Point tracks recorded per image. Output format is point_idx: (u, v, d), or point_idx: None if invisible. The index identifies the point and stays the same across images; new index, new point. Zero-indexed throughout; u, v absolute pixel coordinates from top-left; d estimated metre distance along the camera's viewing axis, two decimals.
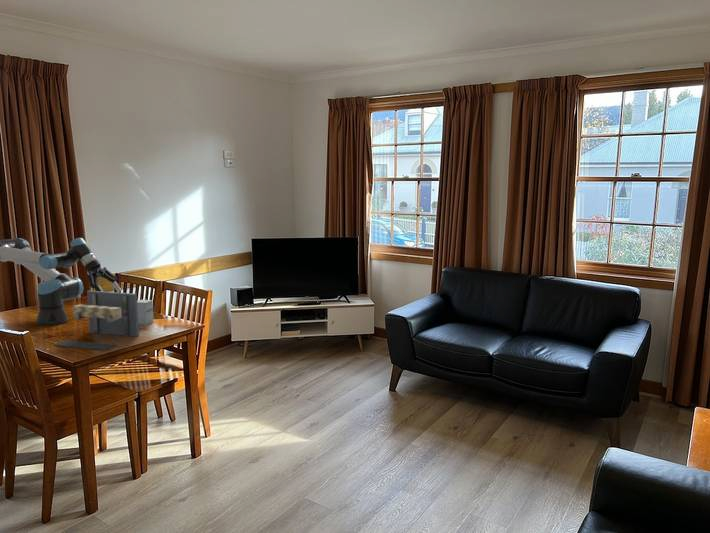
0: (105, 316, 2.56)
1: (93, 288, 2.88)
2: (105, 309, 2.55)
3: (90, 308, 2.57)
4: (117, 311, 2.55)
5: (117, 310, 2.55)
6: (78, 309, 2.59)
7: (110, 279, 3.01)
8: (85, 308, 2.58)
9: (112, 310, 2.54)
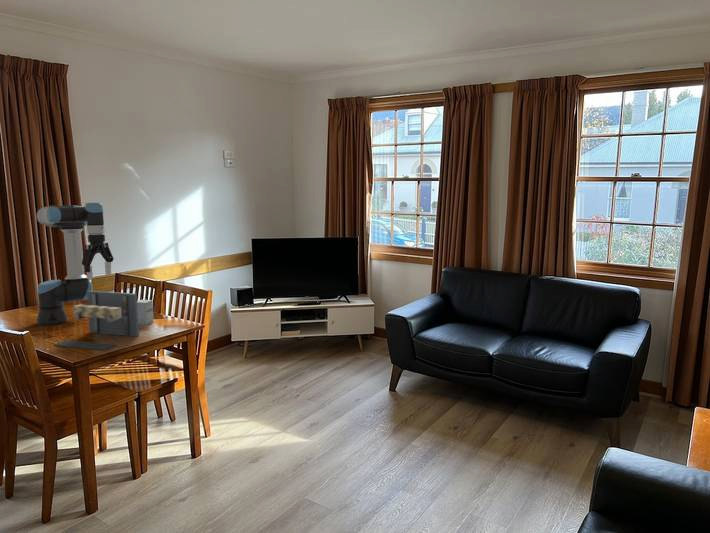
0: (105, 316, 2.56)
1: None
2: (105, 309, 2.55)
3: (90, 308, 2.57)
4: (117, 311, 2.55)
5: (117, 310, 2.55)
6: (78, 309, 2.59)
7: (106, 258, 2.64)
8: (85, 308, 2.58)
9: (112, 310, 2.54)
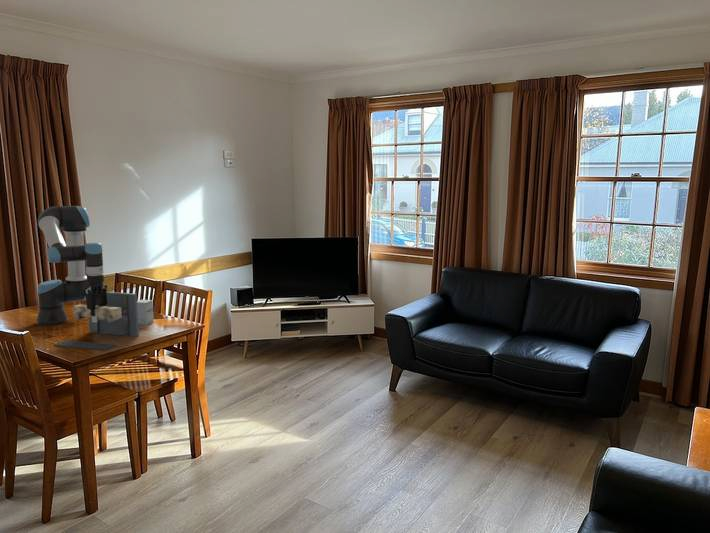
0: (105, 316, 2.56)
1: None
2: (105, 309, 2.55)
3: None
4: (117, 311, 2.55)
5: (117, 310, 2.55)
6: (78, 309, 2.59)
7: (100, 301, 2.60)
8: (85, 308, 2.58)
9: (112, 310, 2.54)
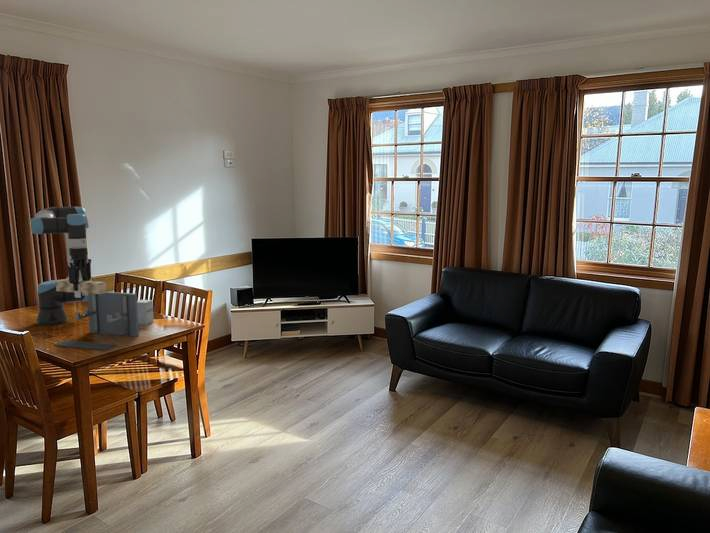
0: (89, 291, 2.44)
1: (72, 283, 2.44)
2: (89, 283, 2.43)
3: None
4: (101, 285, 2.43)
5: (101, 284, 2.43)
6: (61, 284, 2.47)
7: (83, 276, 2.48)
8: (68, 283, 2.46)
9: (96, 284, 2.42)
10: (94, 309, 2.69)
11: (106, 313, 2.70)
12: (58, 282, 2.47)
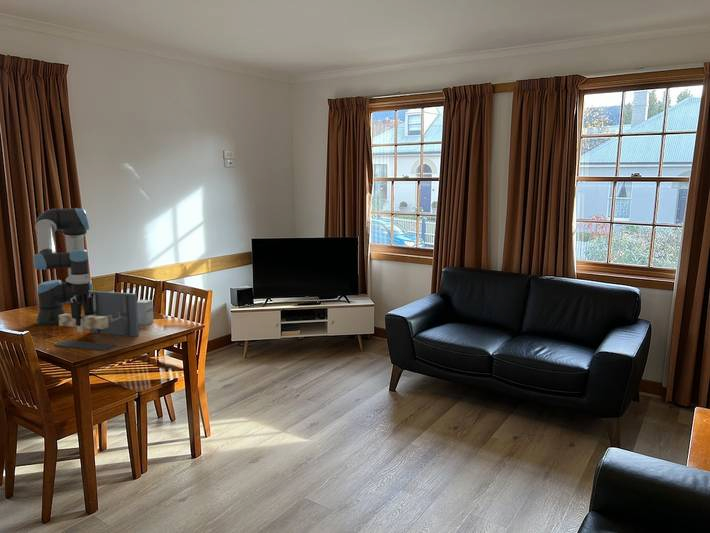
0: (91, 326, 2.46)
1: (75, 318, 2.46)
2: (91, 318, 2.46)
3: None
4: (103, 320, 2.46)
5: (103, 319, 2.46)
6: (63, 319, 2.49)
7: (86, 310, 2.51)
8: (70, 317, 2.48)
9: (98, 319, 2.45)
10: (94, 309, 2.69)
11: (106, 313, 2.70)
12: (61, 317, 2.49)
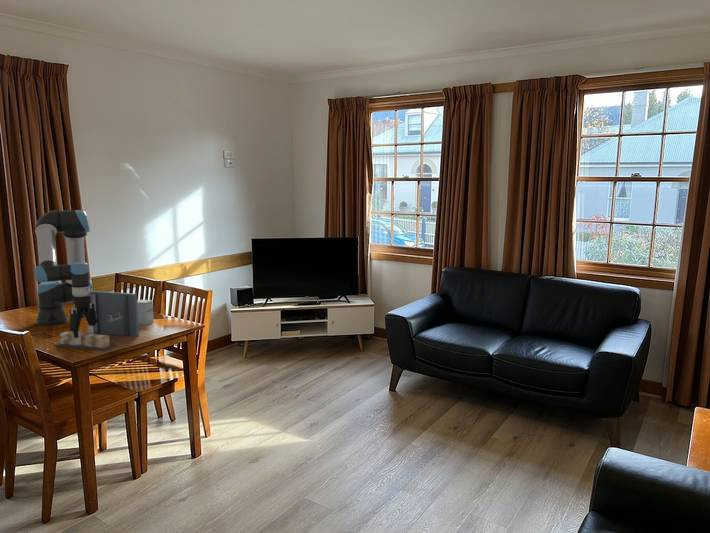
0: (92, 344, 2.48)
1: (72, 330, 2.45)
2: (92, 337, 2.47)
3: None
4: (105, 339, 2.47)
5: (105, 338, 2.47)
6: (65, 337, 2.51)
7: (89, 321, 2.53)
8: (72, 336, 2.50)
9: (99, 338, 2.47)
10: None
11: (106, 313, 2.70)
12: (62, 335, 2.51)
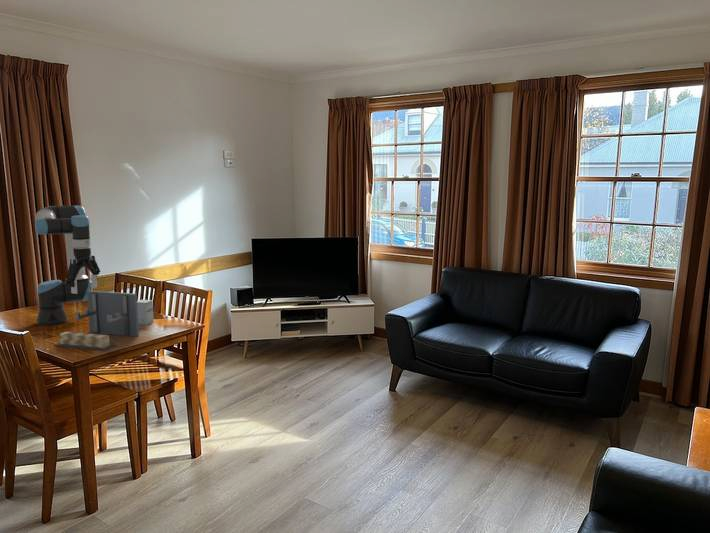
0: (92, 344, 2.48)
1: None
2: (92, 337, 2.47)
3: (77, 336, 2.49)
4: (105, 339, 2.47)
5: (105, 338, 2.47)
6: (65, 337, 2.51)
7: (92, 271, 2.60)
8: (72, 336, 2.50)
9: (99, 338, 2.47)
10: (94, 309, 2.69)
11: (106, 313, 2.70)
12: (62, 335, 2.51)
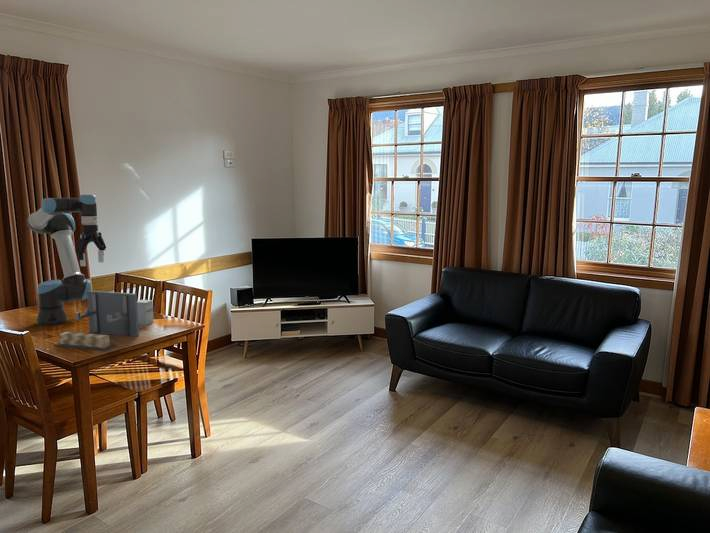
0: (92, 344, 2.48)
1: (77, 253, 2.69)
2: (92, 337, 2.47)
3: (77, 336, 2.49)
4: (105, 339, 2.47)
5: (105, 338, 2.47)
6: (65, 337, 2.51)
7: (99, 246, 2.82)
8: (72, 336, 2.50)
9: (99, 338, 2.47)
10: (94, 309, 2.69)
11: (106, 313, 2.70)
12: (62, 335, 2.51)
